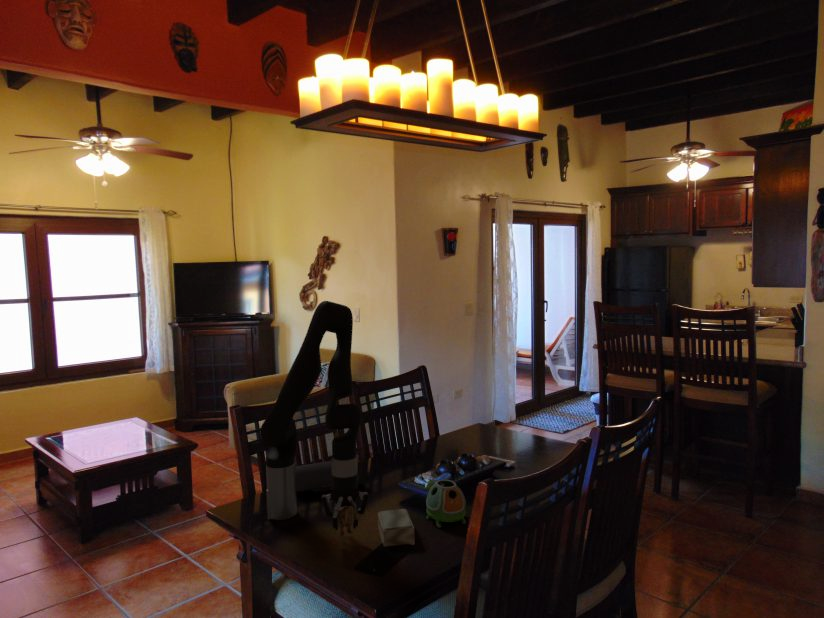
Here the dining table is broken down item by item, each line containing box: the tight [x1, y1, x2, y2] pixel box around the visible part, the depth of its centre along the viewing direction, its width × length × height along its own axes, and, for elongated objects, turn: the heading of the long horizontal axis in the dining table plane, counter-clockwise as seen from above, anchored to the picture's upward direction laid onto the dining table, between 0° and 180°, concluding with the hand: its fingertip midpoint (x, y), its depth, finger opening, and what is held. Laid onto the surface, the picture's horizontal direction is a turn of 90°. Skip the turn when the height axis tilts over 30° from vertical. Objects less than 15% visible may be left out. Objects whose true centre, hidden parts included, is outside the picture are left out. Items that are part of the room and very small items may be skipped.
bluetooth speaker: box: [295, 460, 359, 493], centre depth 213 cm, size 23×9×10 cm, turn 108°
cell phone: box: [353, 541, 414, 577], centre depth 162 cm, size 9×18×1 cm, turn 153°
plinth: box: [377, 508, 416, 546], centre depth 175 cm, size 9×13×6 cm
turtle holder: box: [425, 479, 467, 528], centre depth 187 cm, size 12×18×12 cm
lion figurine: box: [337, 506, 361, 537], centre depth 172 cm, size 15×5×9 cm, turn 29°
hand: (345, 527), depth 171 cm, fingers closed on lion figurine, 4 cm apart
